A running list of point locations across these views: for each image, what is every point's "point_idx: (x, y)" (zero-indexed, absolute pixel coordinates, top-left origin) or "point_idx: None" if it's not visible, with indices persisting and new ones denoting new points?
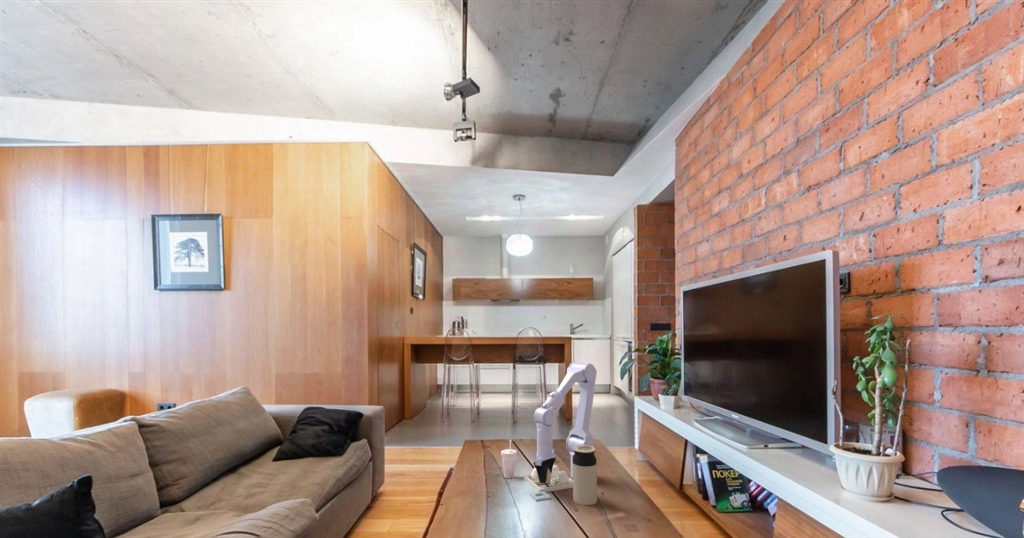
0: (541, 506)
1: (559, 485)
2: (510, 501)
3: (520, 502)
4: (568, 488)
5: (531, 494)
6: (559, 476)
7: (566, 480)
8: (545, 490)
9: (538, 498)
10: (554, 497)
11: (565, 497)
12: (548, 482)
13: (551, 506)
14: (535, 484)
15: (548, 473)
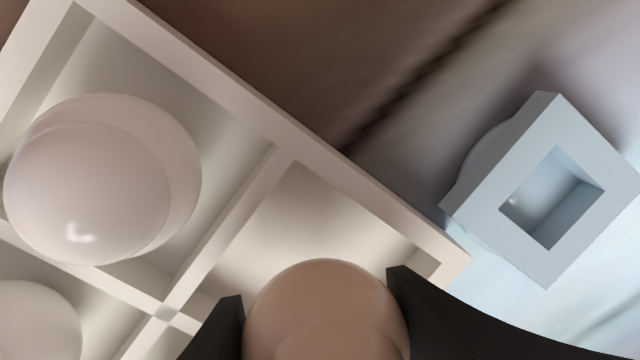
0: (635, 115)
1: (274, 140)
2: (613, 339)
3: (609, 281)
4: (202, 51)
5: (560, 266)
6: (170, 208)
7: (142, 104)
8: (419, 217)
9: (625, 174)
10: (419, 108)
11: (370, 11)
12: (193, 300)
13: (612, 39)
14: None
15: (362, 318)
